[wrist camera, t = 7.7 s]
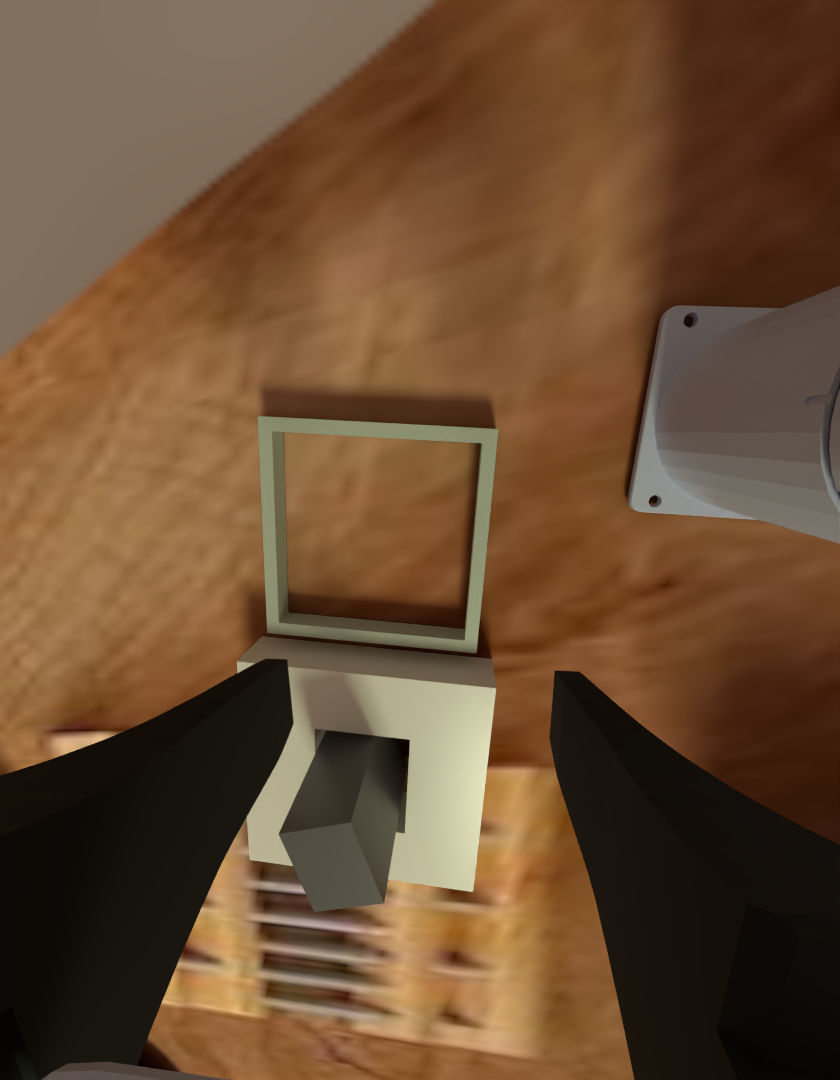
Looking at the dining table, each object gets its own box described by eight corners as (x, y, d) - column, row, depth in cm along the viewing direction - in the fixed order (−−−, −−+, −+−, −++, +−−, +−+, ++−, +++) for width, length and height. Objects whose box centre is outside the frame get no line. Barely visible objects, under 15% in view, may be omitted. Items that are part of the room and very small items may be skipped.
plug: (384, 704, 22) (350, 822, 16) (406, 766, 23) (384, 903, 16) (332, 715, 23) (278, 834, 16) (356, 775, 24) (314, 912, 17)
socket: (492, 659, 21) (496, 688, 19) (471, 845, 24) (472, 891, 22) (261, 636, 22) (236, 661, 20) (270, 818, 25) (249, 859, 23)
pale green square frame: (496, 429, 18) (498, 428, 17) (475, 640, 21) (476, 653, 20) (270, 417, 19) (257, 416, 18) (277, 622, 22) (267, 632, 21)
